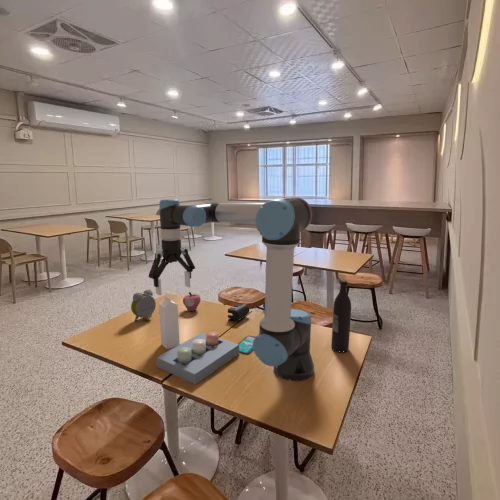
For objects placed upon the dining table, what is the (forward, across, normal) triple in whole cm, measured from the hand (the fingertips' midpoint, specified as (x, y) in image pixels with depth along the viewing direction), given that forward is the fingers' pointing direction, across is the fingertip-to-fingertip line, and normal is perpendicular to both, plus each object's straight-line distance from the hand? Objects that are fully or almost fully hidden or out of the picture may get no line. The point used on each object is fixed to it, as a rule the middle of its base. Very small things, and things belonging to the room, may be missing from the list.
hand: (173, 290), depth 137 cm
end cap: (+26, -40, -4) cm, 48 cm away
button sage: (+22, +6, +15) cm, 28 cm away
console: (+26, -2, +14) cm, 30 cm away
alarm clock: (+26, -6, -38) cm, 47 cm away
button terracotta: (+23, -9, +12) cm, 27 cm away
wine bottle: (+26, -48, +49) cm, 74 cm away
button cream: (+22, -2, +14) cm, 26 cm away
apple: (+26, -30, -31) cm, 51 cm away
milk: (+26, 0, -5) cm, 27 cm away
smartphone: (+27, -24, +19) cm, 41 cm away
